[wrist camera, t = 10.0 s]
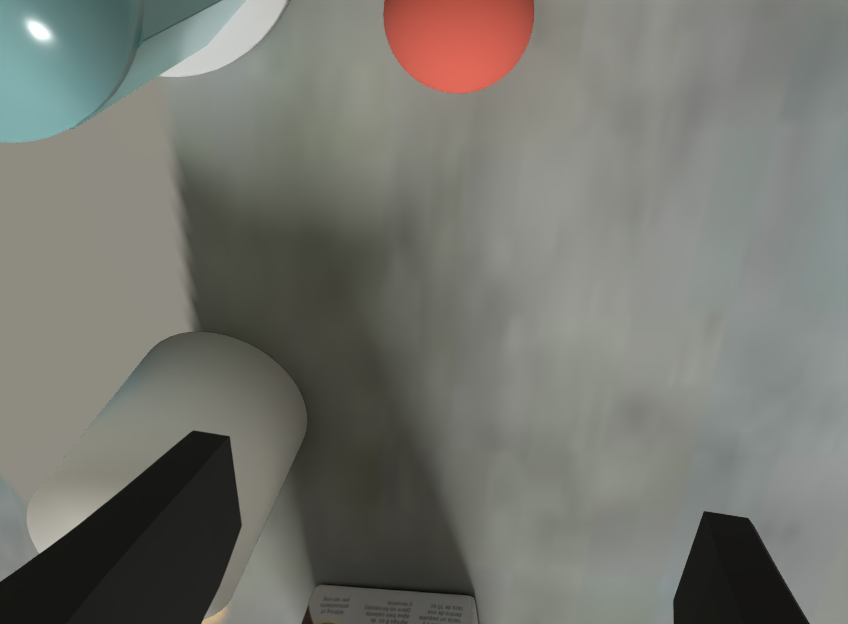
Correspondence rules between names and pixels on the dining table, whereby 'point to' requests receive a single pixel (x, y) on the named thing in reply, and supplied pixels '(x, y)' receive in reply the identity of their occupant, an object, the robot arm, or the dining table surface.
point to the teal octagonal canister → (91, 55)
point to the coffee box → (387, 607)
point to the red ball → (458, 40)
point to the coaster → (233, 38)
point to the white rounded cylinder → (169, 423)
